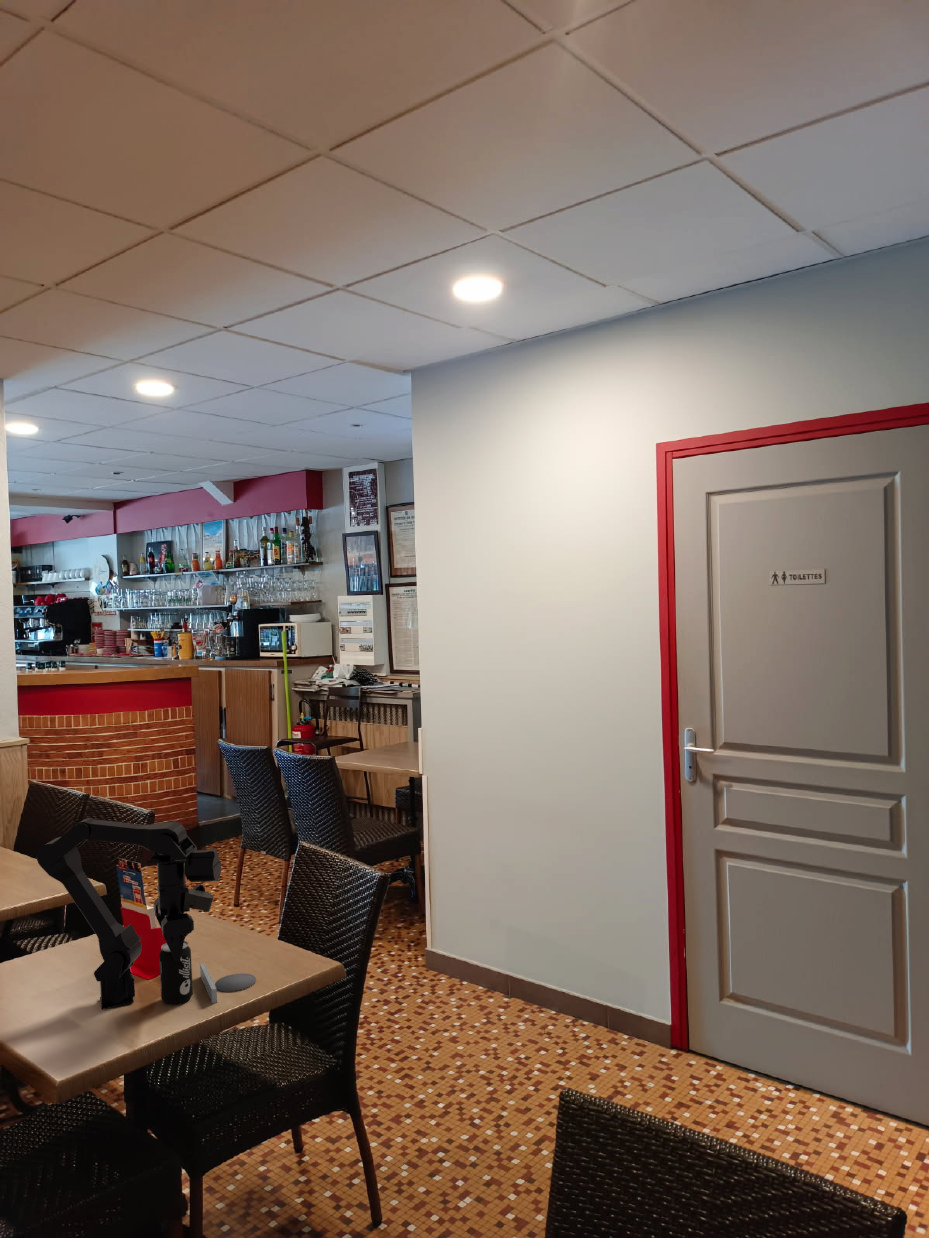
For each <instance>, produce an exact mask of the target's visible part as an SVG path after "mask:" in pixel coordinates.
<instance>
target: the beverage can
mask: <svg viewBox="0 0 929 1238" xmlns="http://www.w3.org/2000/svg"><path fill="white" fill-rule="evenodd" d="M160 949H161V950H160V952H159V953H158V955H159V959H158V960H159V974H160V975H159V976H160V978H159V979H160V980H159V981H160V997H161V998H160V999H161V1001H162V1002H163V1003H164V1004H166V1005H168V1006H176V1005H181V1004H185V1003H187V1002H189V1001H190V999H191V998H192V996H193V995H194V990H193V968H192V967H193V966H192V951H191V947H190V946H189V942H188V941H186V940H184V944H183V949H182V954H181V959H180V960H178V961H175V960H174V958H173V955H172V953H171V951H170V949H169V947H168V945H167V943H166V942H165V943H164V944H162V945H161V947H160Z"/></svg>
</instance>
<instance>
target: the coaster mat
mask: <svg viewBox="0 0 929 1238" xmlns="http://www.w3.org/2000/svg"><path fill="white" fill-rule="evenodd" d="M256 982H257V977H256V976H255V975H254V974H250V973H243V972H242V973H241V972H239V973H234V974H228V975H225V976H223V977H220V978H219V979H218V980H216V981H215V982H214V984H215V986H216V989H217V991H219V992H224V993H234V992H233V991H235V992H240V991H239V990H241V991H243V990H242V989H244V990H247V989H249V988H251V987H252V985H253V986H254V985H255V984H256ZM250 986H251V987H250ZM246 988H247V989H246Z"/></svg>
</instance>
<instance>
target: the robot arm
mask: <svg viewBox="0 0 929 1238" xmlns="http://www.w3.org/2000/svg"><path fill="white" fill-rule="evenodd" d="M88 840H89V841H97V842H98V841H99V842H107V843H116V844H124V845H134V846H139V847H142V848H144V849H146V850H148V851H149V852H153V854H152V856H151V857H150V858H149V859H148V860H147V861H146V863H147V864H148V865H154V864H155V865H157V866H156V869H157V886H156V891H157V893H158V897H156V899H155V900H154V902H153V912H154V915H155V918H156V920H157V923H158V925H159V927H160V929H161V933H162V936H163V938H164V940H165V944H166V943H167V945H168V947H169V949H170V951H171V953H172V955H173V958H174V960H175V961H178V960H180V959H181V954H182V949H183V944H184V941H186V940H185V939H186V937H188V935H189V934H192V932H193V931H195V923H194V922H195V921H194V919H193V917H192V916H191V915H190V914H189V913H187V912H191V911H190V910H191V909H193V910H198V911H203V912H205V913H209V912H210V911H211V908H212V904H213V901H214V895H213V894H212V893H210V892H209V891H206V888H205V885H204V884H200V883H203V882H205V883H206V882H219V880H220V878H221V873H222V861H221V859H220V856H219V854H218V849H217V848H210V849H202V850H201V849H198V847H197V845H196V844H195V843H194V842H193V840H192V839H191V838H190V837H189V836H188V833H187V830H186V828H185V827H184V826H183V824H182V823H180V822H177V821H168V822H167V821H165V822H158V823H151V824H139V823H138V824H137V823H130V822H123V821H122V822H121V821H112V820H103V819H96V818H92V817H86V818H85V819H83V820H81V821H79V822H77V823H76V824H75V825H74V827H72V828H71V829H70V830H69V831H67V832H66V833H65V834H64V835H61V836H59V837H55V838H54V839H52V840H51V841H48V842H47V843H46V844H44V845H42V846H41V847H40V848H39V849H38V852H37V856H36V861H37V864H38V865H39V866H40V868H42V870H43V871H44V872H45V873H46V874H47V875H48V876H49V877H51V878H53V879H54V880H56V881H58V882H60V883H61V884H62V885H63V887H64V889H66V891H67V893H68V894H69V896H70V897H71V899H72V900H73V902H74V904H75V905H76V907H77V908H78V909H79V911H80V913H81V914H82V916H83V917H84V918H85V920H86V922H87V923H88V925H89V926H90V928H91V929H92V931H93V932H94V934H95V935H96V937H97V939H98V940H97V941H98V945H99V946H98V947H99V954H100V955H101V957H102V960H103V962H101V964H100V965H99V966H98V967H97V968H96V969H95V970H94V971H93V976H94V977H95V978H94V979H95V980H96V982H99V986H100V987H99V988H100V991H99V992H100V997H99V1000H100V1002H99V1003H100V1007H101V1010H107V1009H112V1008H116V1007H121V1006H125V1005H129V1004H133V1003H134V1002H135V1001H134V998H135V997H136V989H135V988H136V987H135V977H134V974H132V970H131V967H132V966H134V964H135V961H136V960H137V959H138V957H140V955H141V954H142V948H143V945H142V942H141V940H142V937H141V936H140V935H138V933H137V932H136V930H135V928H134V926H133V925H132V924H131V923H130V924H129V925H127V926H124V925H123V924H120V922H118V921H117V920H116V918H115V917H114V915H113V914H112V912H111V911H110V909H109V907H108V906H107V904H106V903H105V901H104V900H103V898H102V897H101V895H100V894H99V892H98V891H97V890H96V888H95V886H94V885H93V884H92V882H91V881H90V879H89V877H88V876H87V874H86V872H84V869H83V865H82V859H81V858H82V856H81V854H80V851H79V850H78V849H79V848H80V847H81V846H82V845H83V844H85V843H86V842H87V841H88ZM181 848H182V849H181ZM186 880H188V881H190V882H191V883H197V884H196V885H195V886H194V887H193V888H189V887H187V883H186ZM198 882H199V883H198Z"/></svg>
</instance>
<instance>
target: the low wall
mask: <svg viewBox="0 0 929 1238" xmlns="http://www.w3.org/2000/svg"><path fill="white" fill-rule="evenodd" d="M199 970H200V972H199V973H200V978H201V981H202V982H203V986H204V985H205V986H204V987H205V990H206V993H207V995H208V997H209V998H210V1001H211V1003H212V1004H217V1003H218V994H217V991H218V990H217V989H216V986H215V982H214V981H213V978H212V976H211V974H210V972H209V970H208V967H207V965H206V964H205V962H203V963H200V964H199Z"/></svg>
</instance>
